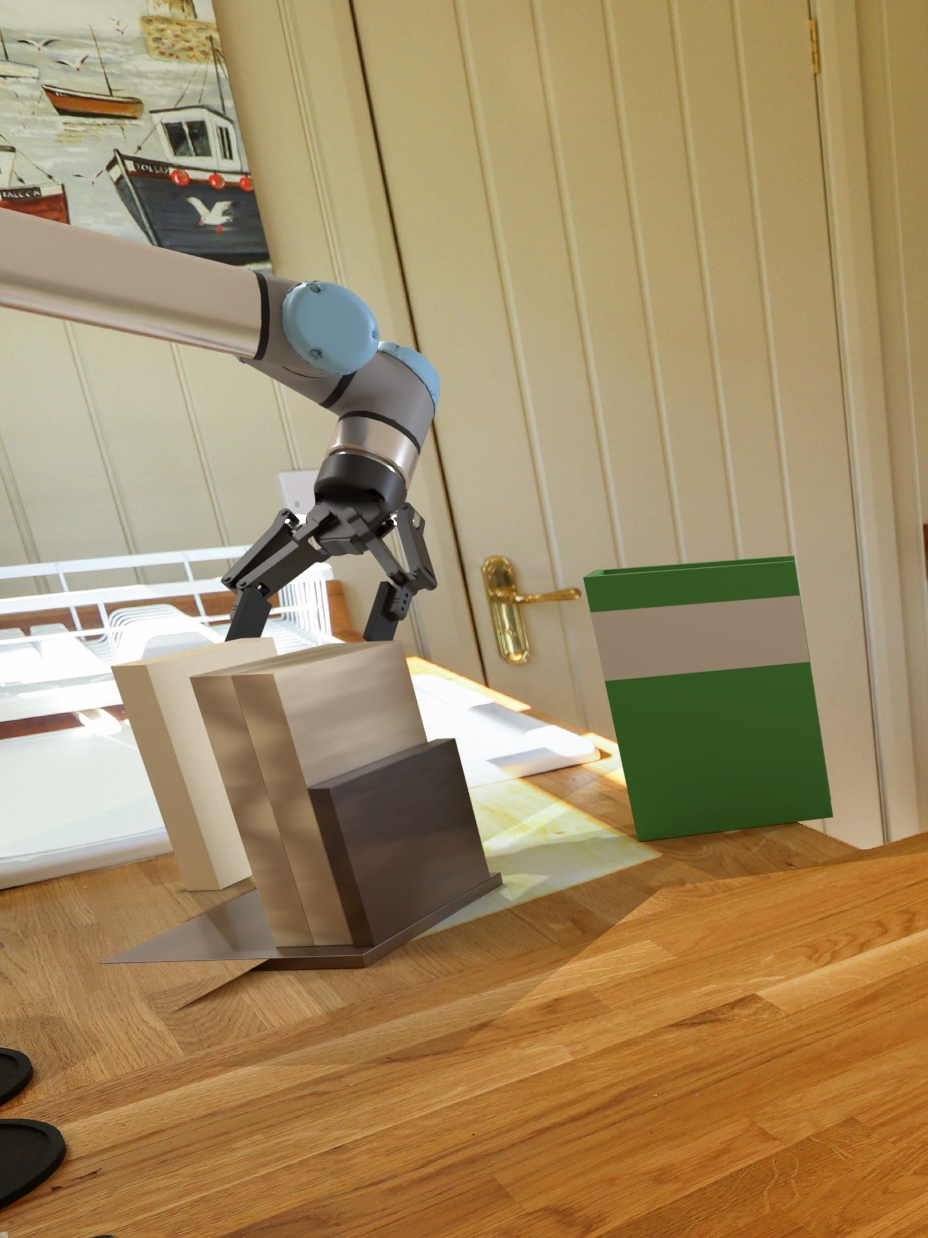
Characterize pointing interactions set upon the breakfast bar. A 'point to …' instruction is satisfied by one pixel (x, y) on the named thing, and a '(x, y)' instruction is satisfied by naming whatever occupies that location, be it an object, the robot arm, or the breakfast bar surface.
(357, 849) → the book rack
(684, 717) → the hardback book
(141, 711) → the thin cream book
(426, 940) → the breakfast bar surface
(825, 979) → the breakfast bar surface
